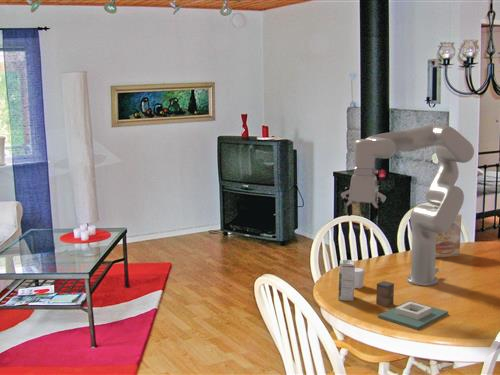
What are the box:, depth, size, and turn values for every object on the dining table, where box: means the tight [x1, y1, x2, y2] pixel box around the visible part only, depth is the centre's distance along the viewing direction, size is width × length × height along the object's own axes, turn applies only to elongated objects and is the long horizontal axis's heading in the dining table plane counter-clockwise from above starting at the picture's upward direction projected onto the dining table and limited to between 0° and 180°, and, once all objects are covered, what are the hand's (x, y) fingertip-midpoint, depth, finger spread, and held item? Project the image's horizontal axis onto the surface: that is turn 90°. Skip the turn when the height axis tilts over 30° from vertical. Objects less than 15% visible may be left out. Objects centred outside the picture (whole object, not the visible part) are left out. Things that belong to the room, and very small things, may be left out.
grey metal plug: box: [375, 280, 395, 308], centre depth 248 cm, size 4×4×8 cm
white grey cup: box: [354, 266, 366, 289], centre depth 269 cm, size 7×7×7 cm
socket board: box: [377, 300, 449, 331], centre depth 237 cm, size 20×16×3 cm
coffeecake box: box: [435, 213, 463, 258], centre depth 310 cm, size 15×7×20 cm, turn 104°
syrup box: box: [337, 259, 356, 302], centre depth 254 cm, size 6×6×14 cm
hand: (362, 216), depth 255 cm, fingers open, 9 cm apart
